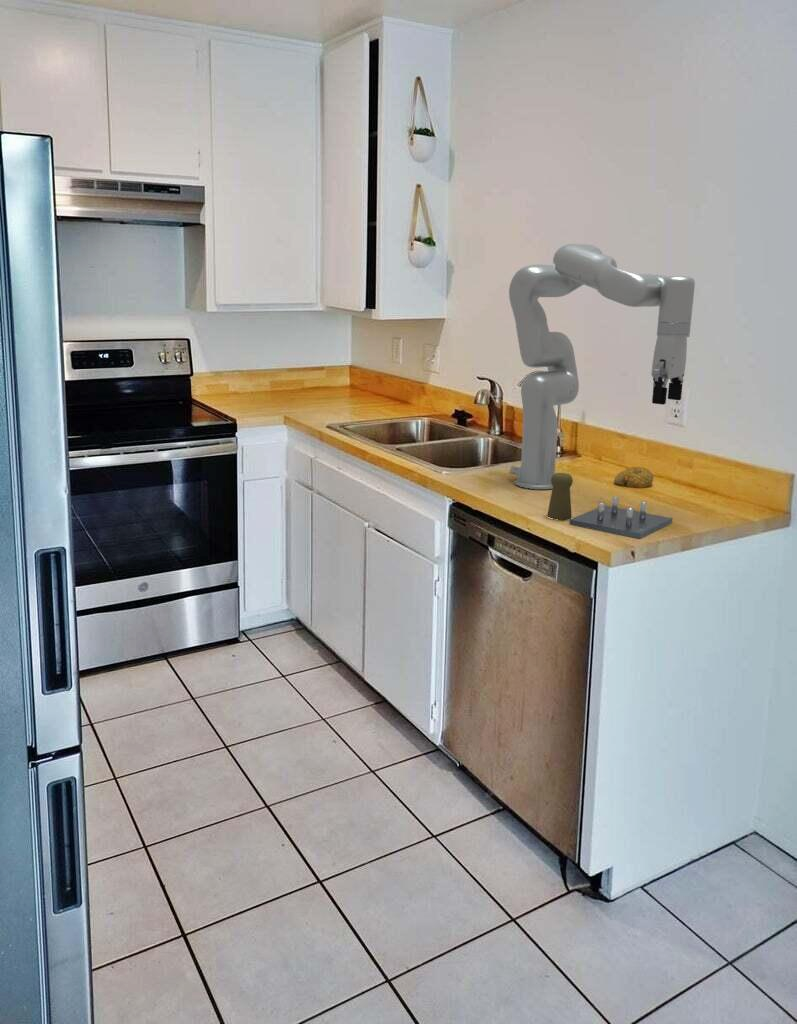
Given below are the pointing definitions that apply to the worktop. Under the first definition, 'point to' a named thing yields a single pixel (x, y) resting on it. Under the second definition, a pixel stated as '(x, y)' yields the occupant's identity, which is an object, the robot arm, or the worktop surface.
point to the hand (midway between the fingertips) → (666, 401)
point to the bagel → (635, 477)
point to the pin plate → (621, 520)
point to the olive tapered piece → (560, 497)
